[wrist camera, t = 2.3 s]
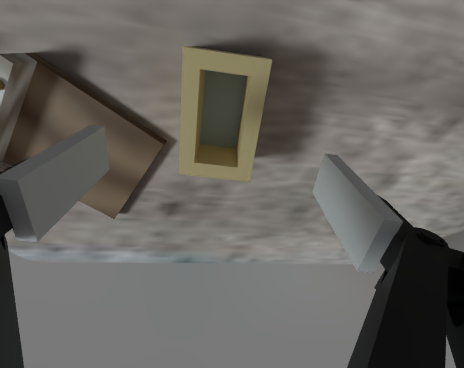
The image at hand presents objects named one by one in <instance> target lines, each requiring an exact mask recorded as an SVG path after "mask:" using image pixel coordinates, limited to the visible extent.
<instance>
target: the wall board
mask: <svg viewBox="0 0 464 368" xmlns="http://www.w3.org/2000/svg"><path fill="white" fill-rule="evenodd" d="M89 125H96V126H104V127H105V136H106V144H107V153H108V161H109V171H108V172H107V173H106V174H105V175H104V176H103V177H102V178H101V179H100V180H99V181H98V182H97V183H96V184H95V185H94V186H93V187H92V188H91V189H90V190H89V191H88V192H87V193H86V194H85V195H84V196H83V197H82V198H81V199H80V200H79V201H81V202H82V203H84V204H86V205H88V206H90V207H92V208H94V209H96V210H98V211H100V212H102V213H104V214H106V215H107V216H109V217H111V218H113V219H115V217H116V216H117V214H118V213H119V211H120V210H121V208H122V207H123V205H124V204H125V202H126V201H127V199H128V198H129V196H130V195H131V193H132V192H133V190H134V189H135V187H136V186H137V184H138V183H139V181H140V180H141V178H142V177H143V175H144V174H145V172H146V171H147V169H148V168H149V166H150V165H151V163H152V162H153V160H154V159H155V157H156V156H157V154H158V153H159V151H160V150H161V148H162V147H163V145H164V144H165V142H166V141H165V140H164V139H162V138H161V137H159V136H158V135H156V134H155V133H153V132H152V131H150V130H149V129H147V128H146V127H144V126H143V125H141V124H140V123H138V122H137V121H135V120H134V119H132V118H130V117H129V116H127V115H126V114H124V113H123V112H121V111H120V110H118V109H117V108H115V107H114V106H112V105H111V104H109V103H108V102H106V101H105V100H103V99H102V98H100V97H99V96H97V95H96V94H94V93H93V92H91V91H90V90H88V89H87V88H85V87H84V86H82V85H81V84H79V83H78V82H76V81H75V80H73V79H72V78H70V77H69V76H67V75H66V74H64V73H63V72H61V71H60V70H58V69H57V68H55V67H54V66H52V65H51V64H49V63H48V62H46V61H45V60H43V59H42V58H40V57H39V56H37V55H36V54H34V53H11V54H0V162H2V161H3V162H5V163H7V164H9V165H11V166H13V165H14V164H16V163H18V162H20V161H22V160H26V159H29V158H31V157H33V156H35V155H37V154H38V153H40V152H42V151H44V150H46V149H48V148H49V147H51V146H53V145H55V144H57V143H58V142H60V141H62V140H64V139H66V138H68V137H69V136H71V135H73V134H75V133H77V132H79V131H80V130H82V129H84V128H86V127H88V126H89Z"/></svg>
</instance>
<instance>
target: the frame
mask: <svg viewBox="0 0 464 368" xmlns="http://www.w3.org/2000/svg"><path fill="white" fill-rule="evenodd" d="M271 65H272V59H269V58H266V57H262V56H255V55H248V54H241V53H234V52H227V51H221V50H214V49H207V48H200V47H193V46H192V47H183V57H182V91H181V125H180V160H179V174H184V175H193V176H202V177H211V178H220V179H229V180H238V181H247V182H250V177H251V172H252V167H253V161H254V156H255V150H256V145H257V140H258V134H259V129H260V124H261V118H262V113H263V108H264V102H265V97H266V91H267V86H268V81H269V75H270V70H271Z"/></svg>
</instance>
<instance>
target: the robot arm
mask: <svg viewBox="0 0 464 368" xmlns="http://www.w3.org/2000/svg"><path fill="white" fill-rule="evenodd" d="M108 171H109V161H108V153H107V144H106V136H105V127H104V126H96V125H89V126H88V127H86V128H84V129H82V130H80V131H79V132H77V133H75V134H73V135H71V136H69V137H68V138H66V139H64V140H62V141H60V142H58V143H57V144H55V145H53V146H51V147H49V148H48V149H46V150H44V151H42V152H40V153H38V154H37V155H35V156H33V157H31V158H29V159H26V160H22V161H20V162H18V163H16V164H14V165H13V166H12V167H9V168H7V169H5V170H4V171H2V172H0V368H24V365H23V357H22V349H21V341H20V334H19V327H18V319H17V312H16V304H15V297H14V289H13V282H12V276H11V275H12V274H11V267H10V260H9V253H8V245H7V240H6V238H5V234H6V233H7V232H8V231H9V230H11V229H12V228H13V231H14V234H15V236H16V239H17V240H22V241H33V242H38V241H39V240H40V239H41V238H42V237H43V236H44V235H45V234H46V233H47V232H48V231H49V230H50V229H51V228H52V227H53V226H54V225H55V224H56V223H57V222H58V221H59V220H60V219H61V218H62V217H63V216H64V215H65V214H66V213H67V212H68V211H69V210H70V209H71V208H72V207H73V206H74V205H75V204H76V203H77V202H78V201H79V200H80V199H81V198H82V197H83V196H84V195H85V194H86V193H87V192H88V191H89V190H90V189H91V188H92V187H93V186H94V185H95V184H96V183H97V182H98V181H99V180H100V179H101V178H102V177H103V176H104V175H105V174H106V173H107V172H108ZM312 193H313V194H314V196H315V198H316V200H317V202H318V203H319V205H320V207H321V209H322V210H323V212H324V214H325V216H326V217H327V219H328V221H329V223H330V224H331V226H332V228H333V230H334V231H335V233H336V235H337V237H338V239H339V240H340V242H341V244H342V246H343V247H344V249H345V251H346V253H347V254H348V256H349V258H350V260H351V261H352V263H353V265H354V267H355V268H356V270H357V271H361V272H372V273H374V272H375V270H376V268H377V267H378V265H379V263H380V262H381V264H382V265H383V266H384V268H385V271H384V272H383V274H382V276H381V277H380V279H379V281H378V282H377V284H376V286H375V289H376V292H375V294H374V297H373V300H372V303H371V305H370V308H369V310H368V313H367V316H366V318H365V321H364V324H363V327H362V329H361V332H360V334H359V337H358V340H357V343H356V345H355V348H354V351H353V353H352V356H351V359H350V361H349V364H348V367H347V368H445V356H446V335H447V339H448V342H449V345H450V348H451V352H452V355H453V358H454V362H455V365H456V368H464V252H461V251H458V250H454V249H451V248H449V247H448V244H447V243H446V242H445V240H444V239H442V238H441V237H439V236H438V235H437V234H435V233H433V232H431V231H428V230H425V229H422V228H417V227H413V226H412V225H411V224H410V223H409V222H408V221H407V220H406V219H405V218H404V217H403V216H402V215H401V214H399V213H398V212H397V211H396V210H395V209H394V208H393V207H392V206H391V205H390V204H389V203H388V202H387V201H386V200H384V199H383V198H381V197H380V196H378V195H376V194H375V193H374V192H373V191H372V190H371V189H370V188H369V187H368V186H367V185H366V184H365V183H364V182H363V181H362V180H361V179H360V178H359V177H358V176H357V175H356V174H355V173H354V172H353V171H352V170H351V169H350V168H349V167H348V166H347V165H346V164H345V163H344V162H343V161H342V160H341V159H340V158H339V157H338V156H337V155H332V154H325V155H324V158H323V161H322V164H321V167H320V170H319V173H318V176H317V180H316V183H315V186H314V189H313V192H312Z"/></svg>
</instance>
